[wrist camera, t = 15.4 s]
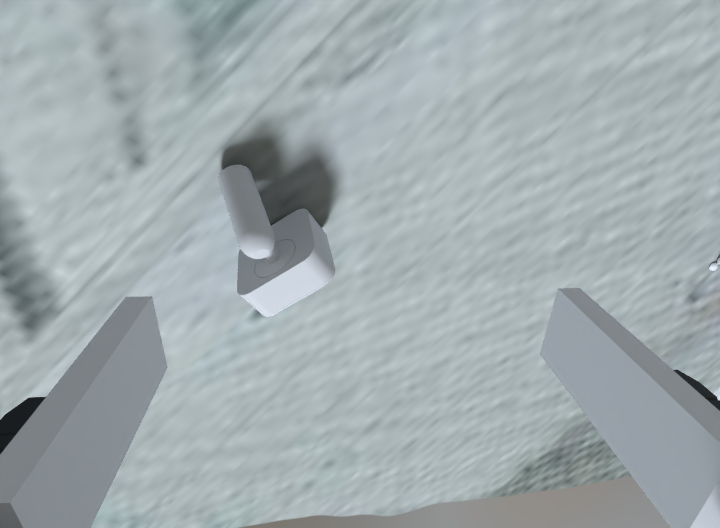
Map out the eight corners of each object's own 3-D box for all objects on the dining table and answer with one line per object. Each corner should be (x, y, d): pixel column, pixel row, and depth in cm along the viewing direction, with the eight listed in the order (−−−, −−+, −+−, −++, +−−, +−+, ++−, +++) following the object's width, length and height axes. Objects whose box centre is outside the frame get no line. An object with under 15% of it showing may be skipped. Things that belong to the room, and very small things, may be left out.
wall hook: (261, 138, 37) (264, 190, 30) (322, 218, 44) (338, 278, 36) (190, 185, 39) (175, 247, 31) (259, 256, 45) (261, 322, 37)
